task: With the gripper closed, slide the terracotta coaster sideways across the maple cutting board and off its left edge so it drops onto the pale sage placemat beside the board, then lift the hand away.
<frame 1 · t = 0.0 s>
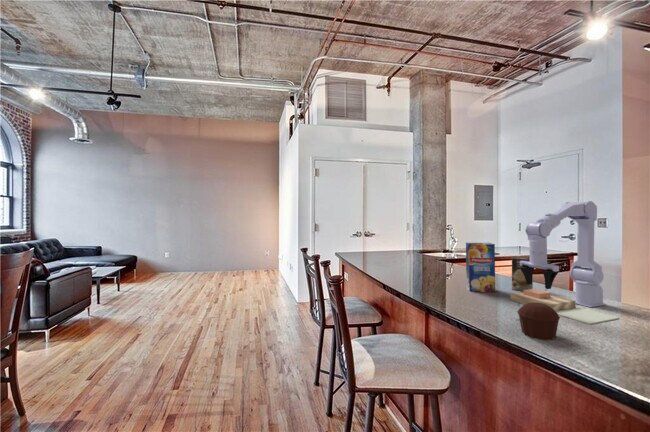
hand: (538, 286, 121), 10 cm above the countertop, tool pointing down, fingers open, 7 cm apart
muffin: (538, 335, 99), on the countertop
placemat: (584, 315, 116), on the countertop
coffee box: (522, 289, 156), on the countertop
coaster: (536, 295, 133), point 3 cm above the countertop, touching board
board: (541, 303, 131), on the countertop
juice carton: (480, 290, 156), on the countertop
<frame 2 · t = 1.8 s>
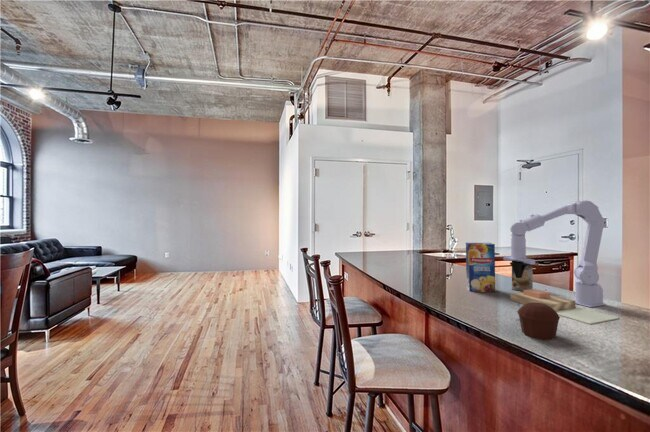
hand: (518, 277, 141), 9 cm above the countertop, tool pointing down, fingers closed
nothing on the countertop moved.
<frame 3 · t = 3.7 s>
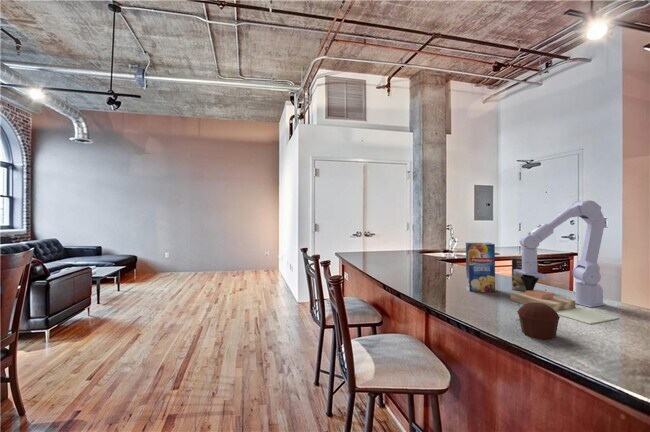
hand: (529, 292, 136), 4 cm above the countertop, tool pointing down, fingers closed
coaster: (539, 296, 132), point 3 cm above the countertop, touching gripper
everything else where it was.
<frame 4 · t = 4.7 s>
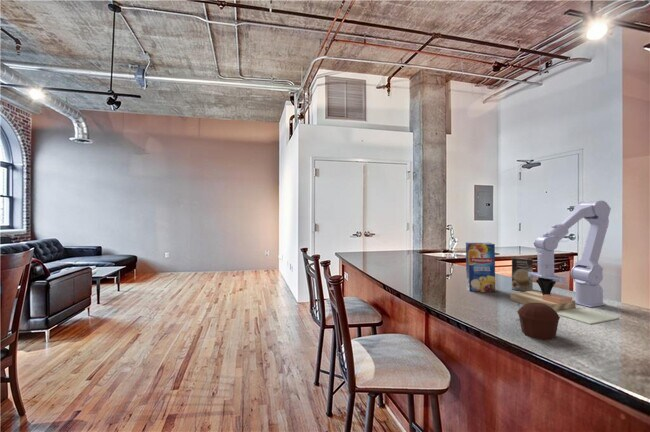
hand: (546, 296, 129), 4 cm above the countertop, tool pointing down, fingers closed
coaster: (557, 301, 125), point 3 cm above the countertop, touching board
everything else where it was.
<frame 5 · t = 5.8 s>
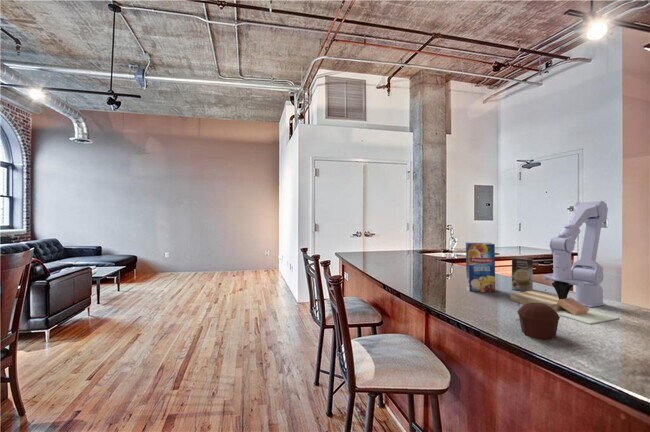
hand: (562, 300, 123), 4 cm above the countertop, tool pointing down, fingers closed
coaster: (571, 308, 120), point 2 cm above the countertop, tilted 22°, touching gripper
everything else where it was.
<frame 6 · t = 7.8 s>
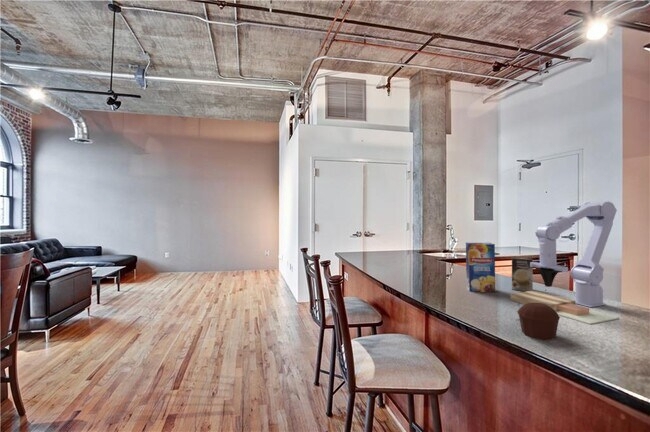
hand: (548, 286, 128), 8 cm above the countertop, tool pointing down, fingers closed
coaster: (573, 311, 119), resting on placemat
everything else where it was.
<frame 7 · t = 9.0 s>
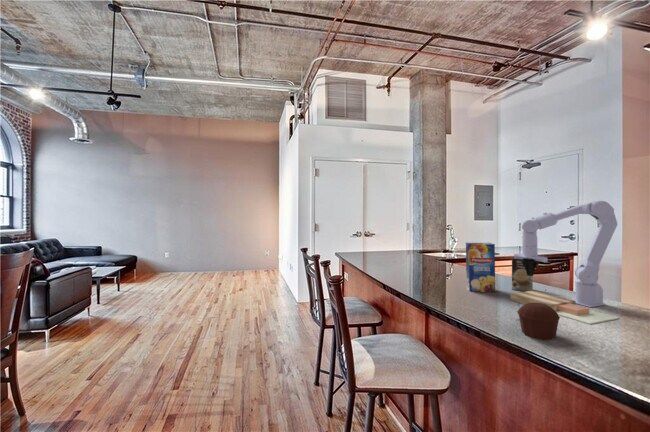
hand: (530, 275, 140), 10 cm above the countertop, tool pointing down, fingers closed
nothing on the countertop moved.
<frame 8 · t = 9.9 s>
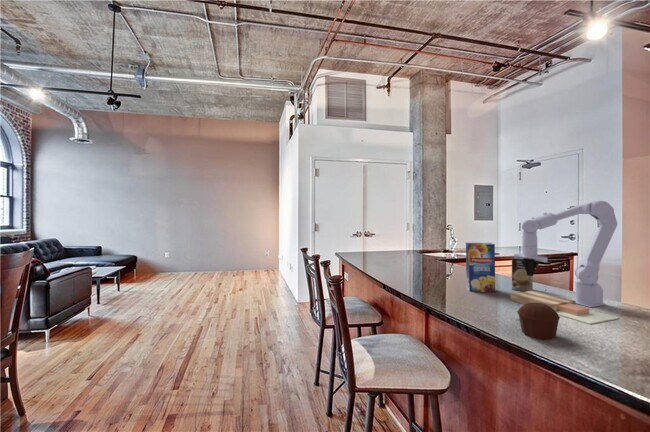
hand: (530, 275, 140), 10 cm above the countertop, tool pointing down, fingers closed
nothing on the countertop moved.
at the end: coaster inside the target area on the placemat (3.8 cm from its centre), point 0.4 cm above the placemat's base; coaster resting on placemat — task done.
